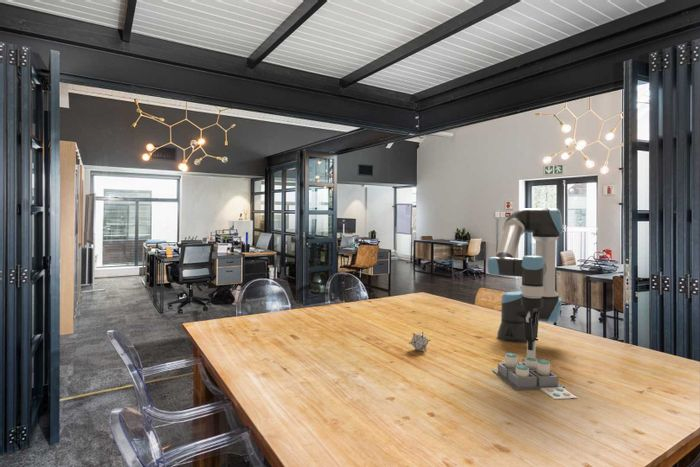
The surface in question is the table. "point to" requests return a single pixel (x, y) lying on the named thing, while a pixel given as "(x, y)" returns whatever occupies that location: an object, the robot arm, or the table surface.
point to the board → (526, 378)
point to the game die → (419, 341)
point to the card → (558, 393)
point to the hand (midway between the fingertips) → (531, 357)
